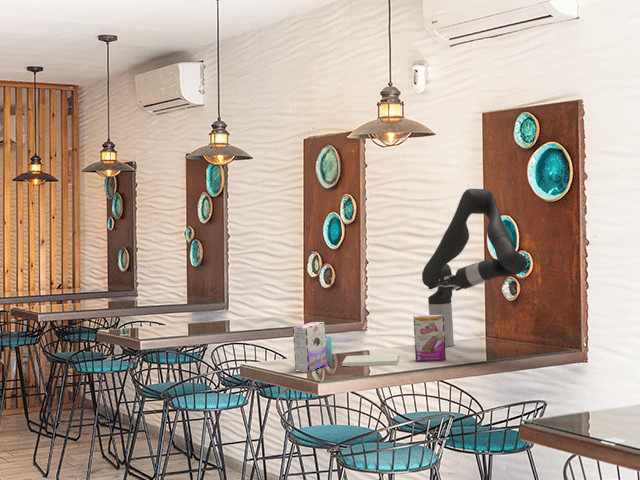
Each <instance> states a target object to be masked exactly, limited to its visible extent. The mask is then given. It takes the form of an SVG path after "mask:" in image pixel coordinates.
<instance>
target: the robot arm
mask: <svg viewBox="0 0 640 480" xmlns="http://www.w3.org/2000/svg"><path fill="white" fill-rule="evenodd" d="M472 214H476V215H485V216H486V217H487V218H488V225H487V230H486V231H487V232H486V233H487V238H488V240H489V242H490V243H491V245H492V247H493V249H494V252H495V256H496V258H494V257H492V258H487V259H485V260H482V261H479V262H474V263H472V264H469V265H466V266H463V267H460V268H458V269H457V270H456V272H455V275H453V273H452V268H451V266H450V265H449V263H450V262H452V261H453V260H454V259H455V258H457V257H458V256H459V255H460V254H461V253H462V252H464V249H465V247H466V246H467V244H468V242H469V240H470V232H469V228H468V225H467V222H468V218H469V217H470V216H471V215H472ZM514 244H515V243H514V240H513V238H512V236H511V235H510V233H509V232H508V230H507V228H506V226H505V224H504V221H503V219H502V216H501V213H500V209H499V207H498V204H497V201H496V198H495V196H494V194H493V193H492V191H491V190H489V189H486V188H467V189H465V191H464V192H463V193H462V195H461V197H460V200H459V201H458V204H457V207H456V210H455V212H454V215H453V217H452V219H451V221H450V224H448V227H447V228H446V230H445V232H444V233H443V236H442V238H441V239H440V242H439V244H438V246H437V248H436V250H435V251H434V253H433V254H432V256H431V257H430V259H429V260H428V262H427V263H426V265H425V266H424V268H423V270H422V274H421V281H422V284H424V285H425V286H426V287H427V288H428V290H433V289H435V288H437V290H436V291H435V292H434V293H433V294H431V295H430V296H428V297H427V299H428V302H427V303H428V315H443V316H444V333H445V348H446V347H452V346H455V345H454V343H455V340H454V339H455V338H454V325H453V310H452V309H453V307H452V306H453V305H452V297H453V292H454V291H456V292H457V291H461V290H464V289H465V290H467V289H469V288H472V287H475V286H477V285H481V284H483V283H485V282H487V281H490V280H493V279H496V278H499V277H500V278H502V277H503V278H505V277H511V276H517V275H519V274H521V273H522V272H524V271H525V270H526V268H527V266H528V260H527V258H526V257H525V256H524V254H521V253H520V252H519V251H518V250H516V249H515V248H514V246H515V245H514Z"/></svg>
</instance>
